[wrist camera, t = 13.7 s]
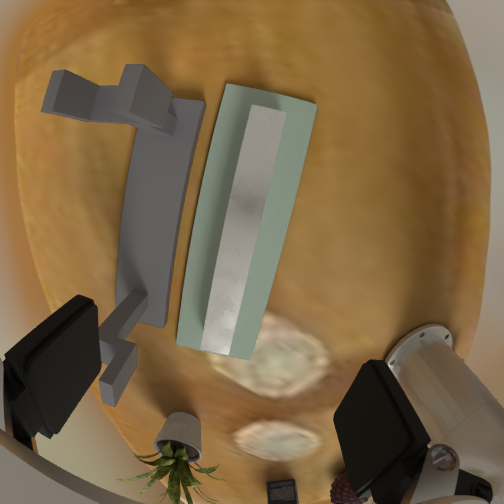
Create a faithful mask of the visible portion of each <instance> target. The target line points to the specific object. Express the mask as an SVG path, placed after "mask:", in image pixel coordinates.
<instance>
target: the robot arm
mask: <svg viewBox="0 0 504 504" xmlns="http://www.w3.org/2000/svg"><path fill="white" fill-rule="evenodd" d="M4 355H5V358H6V359H5V360H4V361H3V362H2V360H1V358H0V504H143V503H140V502H137V501H134V500H131V499H128V498H126V497H123V496H120V495H118V494H115V493H112V492H110V491H108V490H105V489H103V488H100V487H98V486H96V485H94V484H92V483H89V482H87V481H85V480H83V479H81V478H79V477H77V476H75V475H73V474H71V473H69V472H67V471H66V470H64V469H62V468H60V467H58V466H57V465H55V464H53V463H51V462H49V461H48V460H46V459H44V458H43V457H41V456H40V455H38V450H37V446H36V441H35V435H36V434H37V432H40V433H41V434H42V435H44V436H46V437H47V438H49V439H51V437H52V436H53V434H58V433H59V432H60V430H61V429H62V427H63V426H64V424H65V422H66V421H67V419H68V418H69V417H70V415H71V413H72V412H73V410H74V409H75V407H76V406H77V404H78V403H79V401H80V400H81V399H82V397H83V396H84V394H85V393H86V391H87V389H88V388H89V387H90V385H91V384H92V382H93V381H94V380H95V378H96V377H97V375H98V374H99V372H100V370H101V366H102V362H101V353H100V342H99V327H98V308H97V305H95V304H94V301H93V300H92V299H90V298H88V297H85V296H82V295H76V296H75V297H73V298H72V299H71V300H70V301H68V302H67V303H66V304H64V305H63V306H62V307H61V308H59V309H58V310H57V311H55V312H54V313H53V314H52V315H50V316H49V317H48V318H47V319H46V320H44V321H43V322H42V323H41V324H39V325H38V326H37V327H36V328H34V329H33V330H32V331H31V332H30V333H28V334H27V335H26V336H25V337H24V338H23V339H21V340H20V341H19V342H18V343H17V344H16V345H14V346H13V347H12V348H11V349H10V350H9V351H8V352H7V353H5V354H4ZM333 421H334V425H335V429H336V432H337V436H338V440H339V443H340V447H341V451H342V455H343V459H344V462H345V466H346V470H347V474H348V478H349V482H350V486H351V490H352V491H353V492H355V493H356V497H357V499H359V498H365V497H370V496H371V495H372V497H373V501H372V503H371V504H504V408H503V406H502V405H501V404H500V403H499V402H498V400H497V399H496V398H495V397H494V396H493V394H492V393H491V392H490V391H489V390H488V388H487V387H486V386H485V385H484V384H483V383H482V382H481V381H480V379H479V378H478V377H477V376H476V375H475V374H474V373H473V371H472V370H471V369H470V368H469V367H468V366H467V365H466V364H465V363H464V359H462V358H460V357H459V356H458V355H457V354H456V353H455V352H454V351H453V350H452V336H451V333H450V332H449V330H448V329H447V328H445V327H444V326H443V325H441V324H436V323H432V324H426V325H423V326H421V327H419V328H417V329H415V330H413V331H411V332H410V333H408V334H407V335H406V336H405V337H403V338H402V339H401V340H400V341H399V342H398V343H397V344H396V345H395V346H394V347H393V349H392V350H391V351H390V353H389V354H388V356H387V357H386V359H385V361H384V360H373V359H371V360H369V361H367V363H364V364H363V365H362V367H361V369H360V370H359V372H358V374H357V376H356V378H355V380H354V381H353V383H352V385H351V387H350V388H349V390H348V392H347V393H346V395H345V397H344V398H343V400H342V402H341V403H340V405H339V407H338V408H337V410H336V411H335V413H334V417H333ZM428 444H429V446H430V448H428V447H427V445H428Z"/></svg>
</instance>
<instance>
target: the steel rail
mask: <svg viewBox="0 0 504 504" xmlns="http://www.w3.org/2000/svg"><path fill="white" fill-rule="evenodd" d="M286 113H287V112H283V111H279V110H275V109H271V108H266V107H262V106H257V105H252V106H251V110H250V114H249V118H248V122H247V126H246V130H245V134H244V138H243V142H242V146H241V150H240V155H239V159H238V163H237V167H236V172H235V176H234V181H233V185H232V190H231V194H230V199H229V203H228V208H227V212H226V217H225V222H224V226H223V231H222V236H221V241H220V246H219V251H218V256H217V261H216V266H215V271H214V276H213V281H212V287H211V292H210V297H209V303H208V308H207V314H206V319H205V325H204V331H203V337H202V343H201V348H200V349H201V350H206V351H210V352H215V353H220V354H225V355H229V351H230V347H231V343H232V339H233V335H234V330H235V326H236V322H237V318H238V314H239V310H240V305H241V301H242V297H243V293H244V289H245V285H246V281H247V276H248V272H249V268H250V264H251V260H252V256H253V251H254V247H255V243H256V239H257V235H258V230H259V226H260V222H261V218H262V214H263V210H264V205H265V201H266V197H267V193H268V189H269V185H270V180H271V176H272V172H273V168H274V164H275V159H276V155H277V151H278V147H279V143H280V138H281V134H282V130H283V126H284V122H285V117H286Z"/></svg>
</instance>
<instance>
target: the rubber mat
mask: <svg viewBox="0 0 504 504" xmlns="http://www.w3.org/2000/svg"><path fill="white" fill-rule="evenodd" d="M252 105H257V106H262V107H266V108H271V109H275V110H279V111H283V112H287V113H286V117H285V122H284V126H283V130H282V134H281V138H280V143H279V147H278V151H277V155H276V159H275V164H274V168H273V172H272V176H271V180H270V185H269V189H268V193H267V197H266V201H265V205H264V210H263V214H262V218H261V222H260V226H259V230H258V235H257V239H256V243H255V247H254V251H253V256H252V260H251V264H250V268H249V272H248V276H247V281H246V285H245V289H244V293H243V297H242V301H241V305H240V310H239V314H238V318H237V322H236V326H235V330H234V335H233V339H232V343H231V347H230V351H229V355H225V354H220V353H215V352H210V351H206V350H201V349H200V348H201V343H202V337H203V331H204V325H205V319H206V314H207V308H208V303H209V297H210V292H211V287H212V281H213V276H214V271H215V266H216V261H217V256H218V251H219V246H220V241H221V236H222V231H223V226H224V222H225V217H226V212H227V208H228V203H229V199H230V194H231V190H232V185H233V181H234V176H235V172H236V167H237V163H238V159H239V155H240V150H241V146H242V142H243V138H244V134H245V130H246V126H247V122H248V118H249V114H250V110H251V106H252ZM316 110H317V104H314V103H310V102H307V101H303V100H300V99H296V98H293V97H289V96H285V95H281V94H277V93H273V92H268V91H264V90H259V89H254V88H249V87H244V86H239V85H233V84H226V88H225V92H224V95H223V99H222V102H221V106H220V110H219V114H218V118H217V121H216V125H215V129H214V133H213V137H212V142H211V146H210V150H209V154H208V159H207V163H206V167H205V172H204V176H203V181H202V186H201V191H200V195H199V200H198V205H197V210H196V216H195V221H194V226H193V232H192V237H191V243H190V249H189V255H188V261H187V267H186V273H185V280H184V287H183V294H182V301H181V308H180V316H179V324H178V333H177V341H176V345H180V346H184V347H188V348H192V349H196V350H201V351H205V352H210V353H214V354H219V355H224V356H229V357H234V358H239V359H245V360H250V359H251V356H252V353H253V349H254V346H255V343H256V339H257V336H258V333H259V329H260V326H261V322H262V319H263V316H264V312H265V309H266V305H267V302H268V298H269V295H270V291H271V288H272V284H273V280H274V277H275V273H276V270H277V266H278V262H279V259H280V255H281V251H282V248H283V244H284V240H285V236H286V233H287V229H288V225H289V221H290V217H291V213H292V209H293V206H294V202H295V198H296V194H297V190H298V186H299V182H300V178H301V174H302V170H303V165H304V161H305V157H306V153H307V149H308V145H309V140H310V136H311V132H312V127H313V123H314V119H315V114H316Z"/></svg>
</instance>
